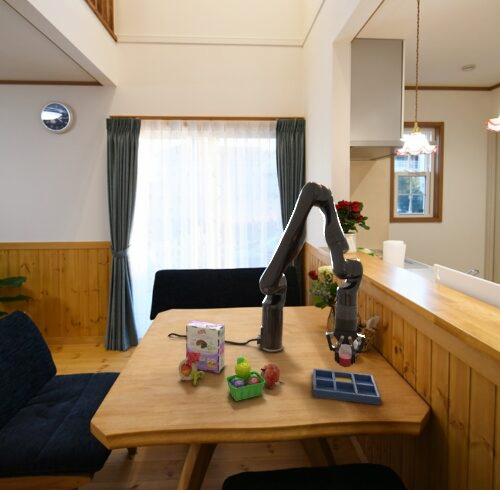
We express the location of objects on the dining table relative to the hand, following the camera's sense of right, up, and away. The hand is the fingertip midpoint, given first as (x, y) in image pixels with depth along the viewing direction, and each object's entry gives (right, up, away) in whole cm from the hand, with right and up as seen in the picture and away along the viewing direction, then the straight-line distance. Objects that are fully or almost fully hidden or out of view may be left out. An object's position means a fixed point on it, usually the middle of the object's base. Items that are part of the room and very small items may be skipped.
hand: (344, 362), depth 122 cm
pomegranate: (-26, -7, -2) cm, 27 cm away
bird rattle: (-54, -6, -1) cm, 55 cm away
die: (+7, -7, +22) cm, 24 cm away
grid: (-1, -8, -3) cm, 8 cm away
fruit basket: (-35, -7, -7) cm, 37 cm away
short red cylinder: (0, 0, 0) cm, 0 cm away
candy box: (-50, -6, +10) cm, 52 cm away
